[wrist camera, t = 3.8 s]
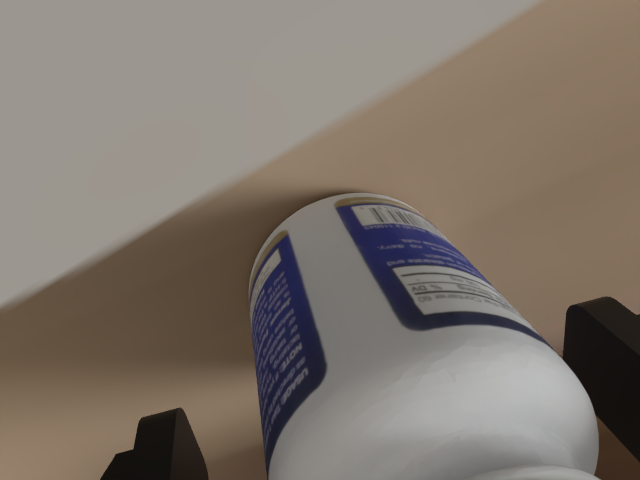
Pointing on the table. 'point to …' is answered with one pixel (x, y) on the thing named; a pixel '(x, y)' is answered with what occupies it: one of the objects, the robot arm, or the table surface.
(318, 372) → the pill bottle
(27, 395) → the table surface
